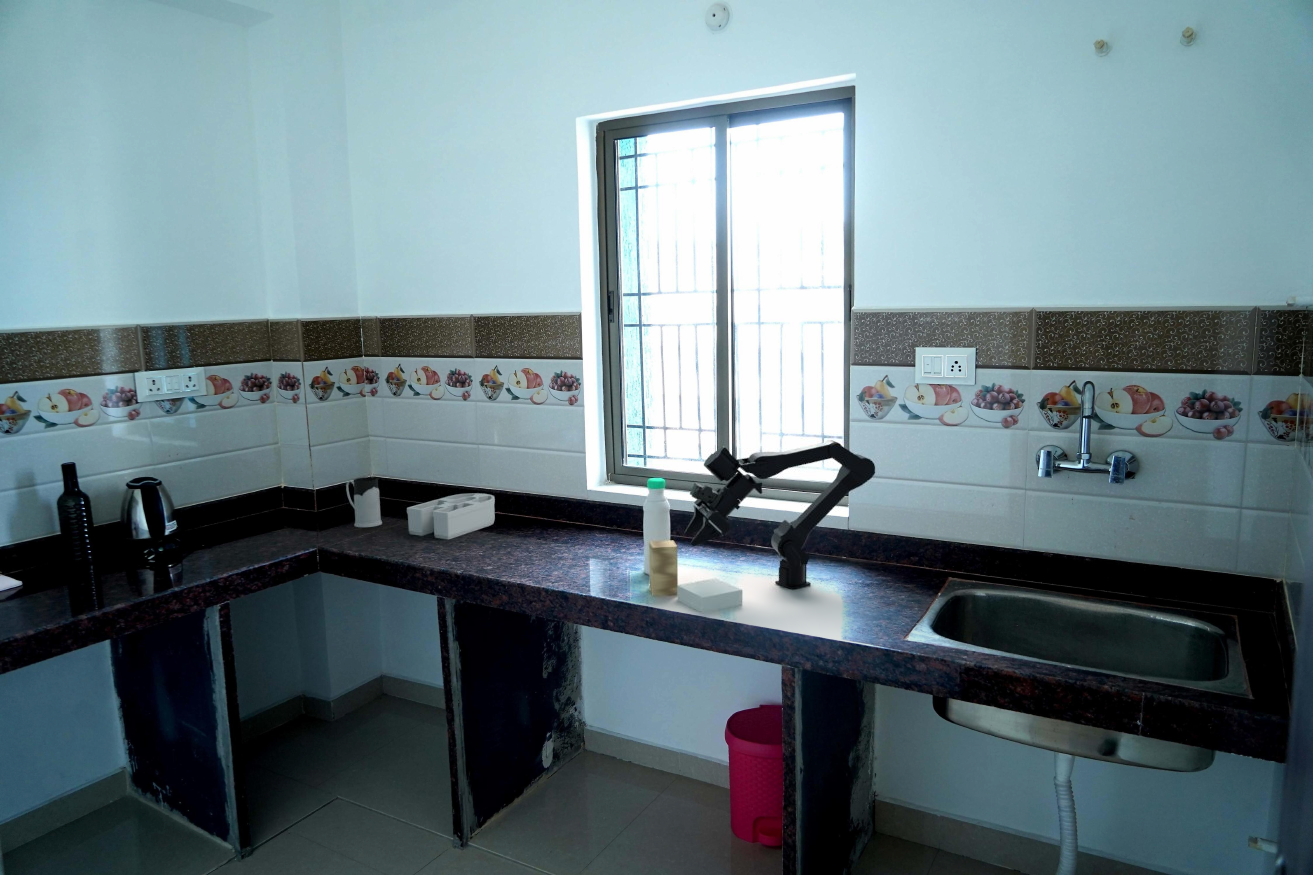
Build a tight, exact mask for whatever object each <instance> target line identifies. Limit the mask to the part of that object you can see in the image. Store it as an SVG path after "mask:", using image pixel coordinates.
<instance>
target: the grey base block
mask: <svg viewBox="0 0 1313 875" xmlns="http://www.w3.org/2000/svg"><path fill="white" fill-rule="evenodd" d="M676 596H677V597H676V600H677V601H678V602H680V603H682V604H684V605H687V606H688V607H691V608H692V609H693V610H696V611H698V612H700V611H701V613H702V614H705V612H706V613H710V612H709V611H711V612H716V611H719V609H720V610H725V609H729V608H733V607H737V606H741V605H743V589H741V588H739V587H737V586H735V585H732V584H731V583H729V582H726V581H724V580H721V579H719V578H717V577H714V578H708V579H702V580H697V581H693V582H688V583H681V584H678V585H677V595H676Z"/></svg>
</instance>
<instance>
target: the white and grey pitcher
mask: <svg viewBox="0 0 1313 875" xmlns="http://www.w3.org/2000/svg"><path fill="white" fill-rule="evenodd" d="M349 483H351V484H352V485H353V489H354V490H353V492H354V494H353V501H354V502H353V501H352V499H351V495H350V491H349V485H350V484H349ZM345 487H346V488H345V489H346V490H345V491H346V495H347V498H348V501H349V503H350V505H351V506H352V507H353V509H354V518H355V520H354V527H357V528H371V527H377V526H380V525H381V526H382V524H383V521H382V518H381V505H380V504H381V501H380V489H379V479H378V477H374V476H368V477H367V476H366V477H358V478H355V479H353V480H348V481H347V482H346V484H345Z"/></svg>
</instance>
